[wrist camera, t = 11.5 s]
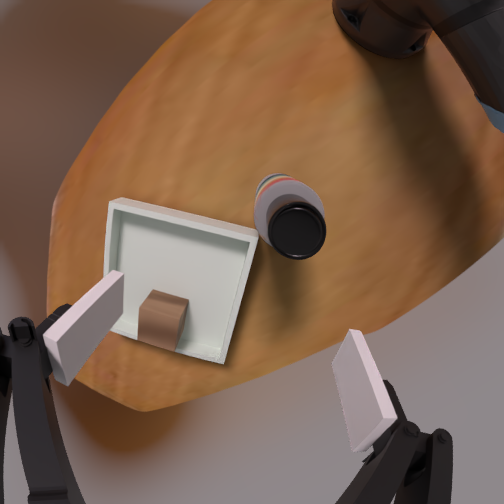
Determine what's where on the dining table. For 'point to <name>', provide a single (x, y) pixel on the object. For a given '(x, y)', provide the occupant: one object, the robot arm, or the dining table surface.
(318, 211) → the lotion bottle
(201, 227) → the tray
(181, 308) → the walnut block
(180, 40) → the dining table surface
